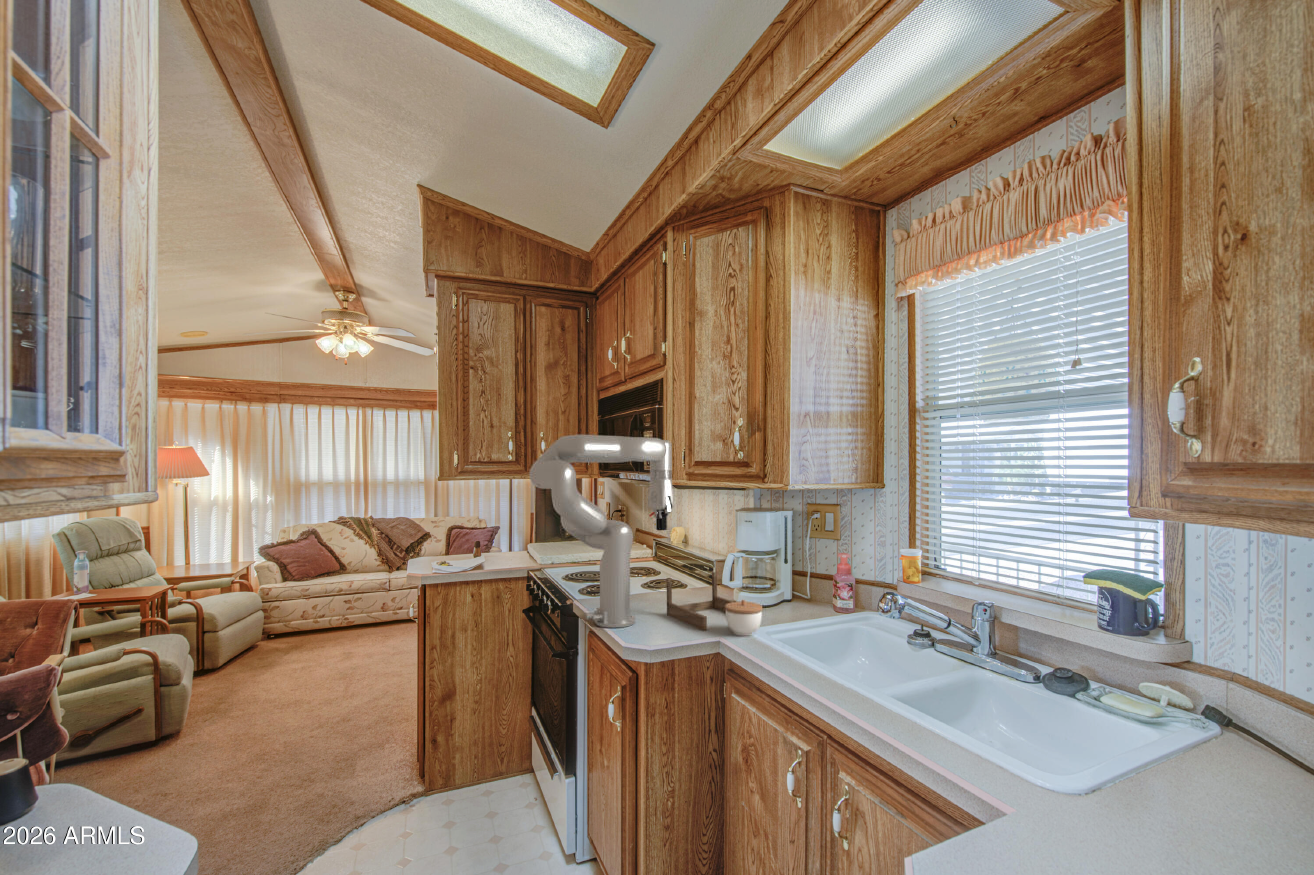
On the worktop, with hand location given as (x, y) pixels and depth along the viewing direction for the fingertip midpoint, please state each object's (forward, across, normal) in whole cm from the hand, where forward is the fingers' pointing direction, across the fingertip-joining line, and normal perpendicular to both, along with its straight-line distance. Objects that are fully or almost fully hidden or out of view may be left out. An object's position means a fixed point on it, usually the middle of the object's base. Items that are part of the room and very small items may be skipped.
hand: (661, 529), depth 190 cm
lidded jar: (+27, +34, +7) cm, 45 cm away
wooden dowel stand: (+27, +16, +8) cm, 33 cm away
